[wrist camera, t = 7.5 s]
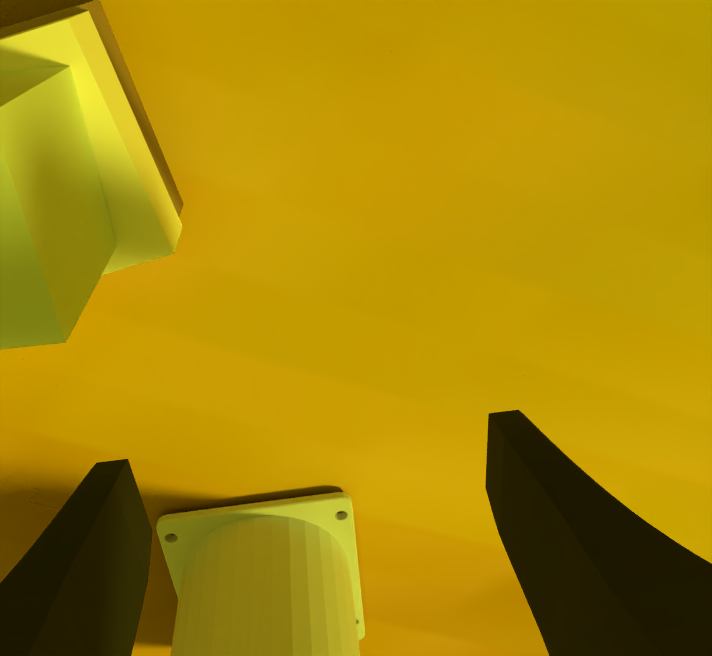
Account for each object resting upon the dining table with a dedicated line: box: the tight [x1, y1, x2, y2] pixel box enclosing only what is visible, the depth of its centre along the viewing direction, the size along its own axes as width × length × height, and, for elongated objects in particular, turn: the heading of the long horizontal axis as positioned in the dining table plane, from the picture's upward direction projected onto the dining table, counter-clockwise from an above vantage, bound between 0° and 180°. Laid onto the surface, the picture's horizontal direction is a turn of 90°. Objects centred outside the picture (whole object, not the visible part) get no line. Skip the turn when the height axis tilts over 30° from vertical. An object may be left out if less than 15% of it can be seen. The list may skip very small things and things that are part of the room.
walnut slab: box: [0, 0, 183, 217], centre depth 19 cm, size 6×6×2 cm
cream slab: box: [0, 11, 182, 275], centre depth 18 cm, size 6×6×2 cm
